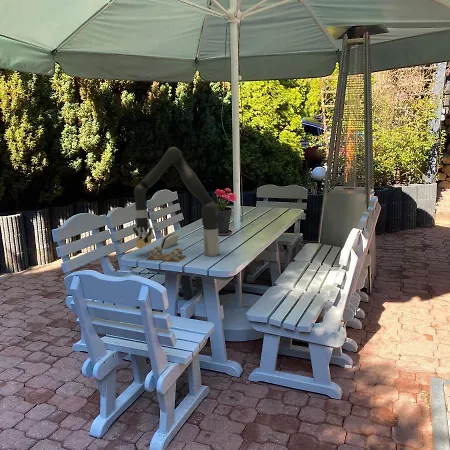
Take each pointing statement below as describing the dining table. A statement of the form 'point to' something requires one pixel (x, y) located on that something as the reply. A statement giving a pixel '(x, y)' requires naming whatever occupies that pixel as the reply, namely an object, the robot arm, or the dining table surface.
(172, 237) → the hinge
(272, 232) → the dining table surface
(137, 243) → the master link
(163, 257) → the chain bed
